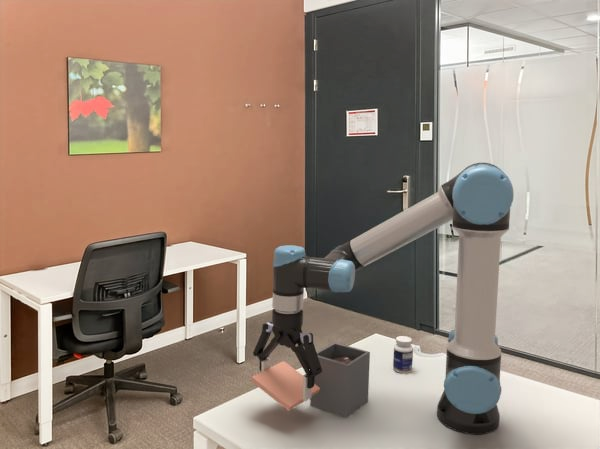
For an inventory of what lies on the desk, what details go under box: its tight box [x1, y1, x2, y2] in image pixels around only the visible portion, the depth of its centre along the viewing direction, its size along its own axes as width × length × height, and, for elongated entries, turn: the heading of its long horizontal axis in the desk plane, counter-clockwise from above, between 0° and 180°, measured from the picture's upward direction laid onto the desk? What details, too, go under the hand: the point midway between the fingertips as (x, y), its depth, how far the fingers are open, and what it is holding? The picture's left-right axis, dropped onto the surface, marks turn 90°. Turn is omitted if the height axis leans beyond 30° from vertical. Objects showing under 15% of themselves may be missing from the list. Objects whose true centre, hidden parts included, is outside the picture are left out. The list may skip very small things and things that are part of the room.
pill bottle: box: [392, 335, 414, 374], centre depth 170 cm, size 6×6×10 cm
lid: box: [250, 360, 320, 412], centre depth 141 cm, size 13×13×2 cm
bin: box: [309, 342, 371, 419], centre depth 148 cm, size 11×11×14 cm
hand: (285, 391), depth 141 cm, fingers closed on lid, 12 cm apart
